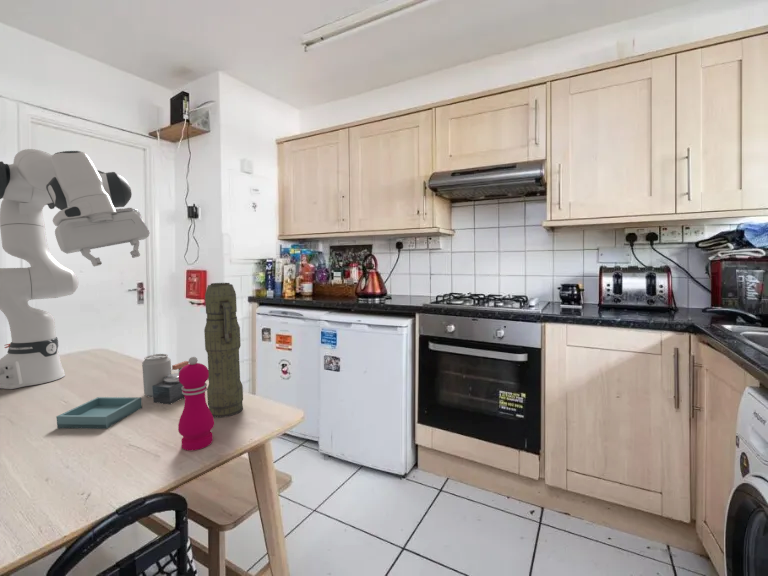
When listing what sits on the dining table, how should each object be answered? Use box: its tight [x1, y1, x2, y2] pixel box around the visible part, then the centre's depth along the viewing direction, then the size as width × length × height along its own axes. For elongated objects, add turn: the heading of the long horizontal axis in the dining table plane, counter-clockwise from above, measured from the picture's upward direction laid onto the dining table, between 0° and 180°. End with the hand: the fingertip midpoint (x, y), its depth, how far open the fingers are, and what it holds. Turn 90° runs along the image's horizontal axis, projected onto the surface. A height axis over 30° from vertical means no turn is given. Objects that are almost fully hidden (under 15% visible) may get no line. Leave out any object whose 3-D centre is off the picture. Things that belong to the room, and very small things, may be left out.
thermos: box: [203, 282, 244, 418], centre depth 100 cm, size 9×12×35 cm
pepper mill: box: [177, 356, 215, 452], centre depth 83 cm, size 7×7×20 cm
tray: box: [56, 396, 143, 430], centre depth 98 cm, size 13×13×3 cm
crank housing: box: [152, 360, 189, 405], centre depth 112 cm, size 7×12×10 cm, turn 165°
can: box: [141, 353, 172, 398], centre depth 114 cm, size 8×8×12 cm
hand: (117, 260), depth 99 cm, fingers open, 8 cm apart
